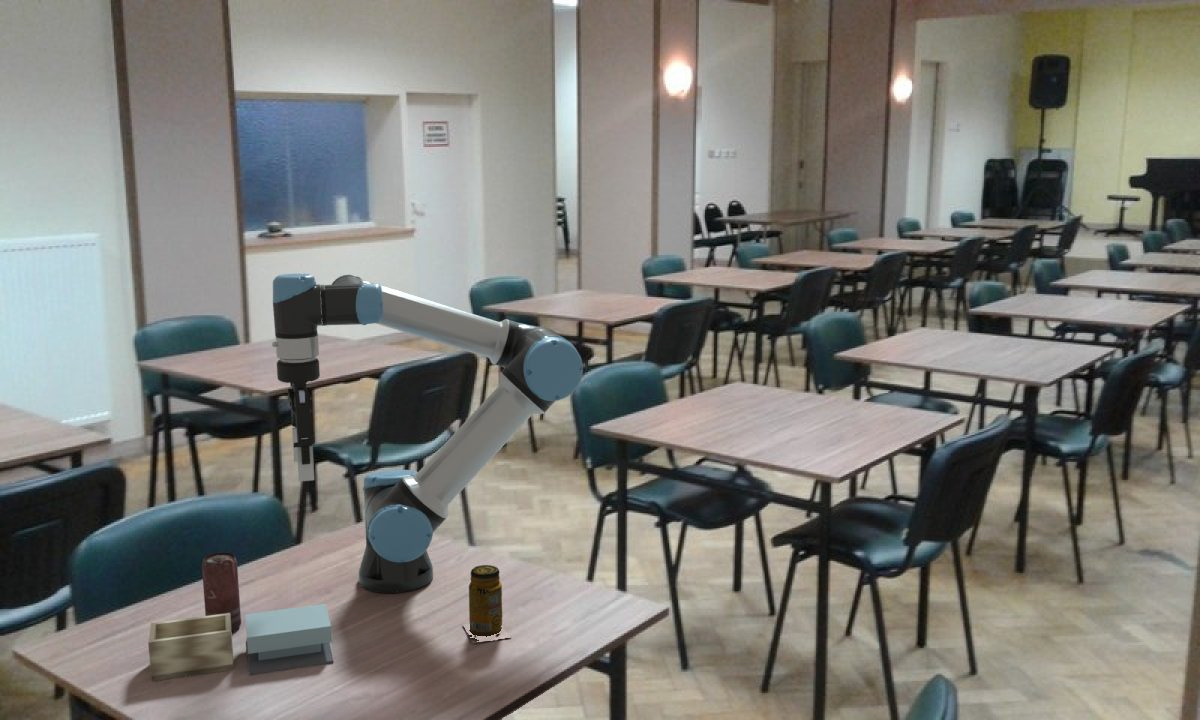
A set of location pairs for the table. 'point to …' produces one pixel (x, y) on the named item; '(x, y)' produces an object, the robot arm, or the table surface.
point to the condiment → (485, 601)
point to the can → (222, 587)
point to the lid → (288, 631)
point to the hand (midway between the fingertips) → (303, 470)
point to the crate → (190, 646)
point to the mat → (289, 661)
